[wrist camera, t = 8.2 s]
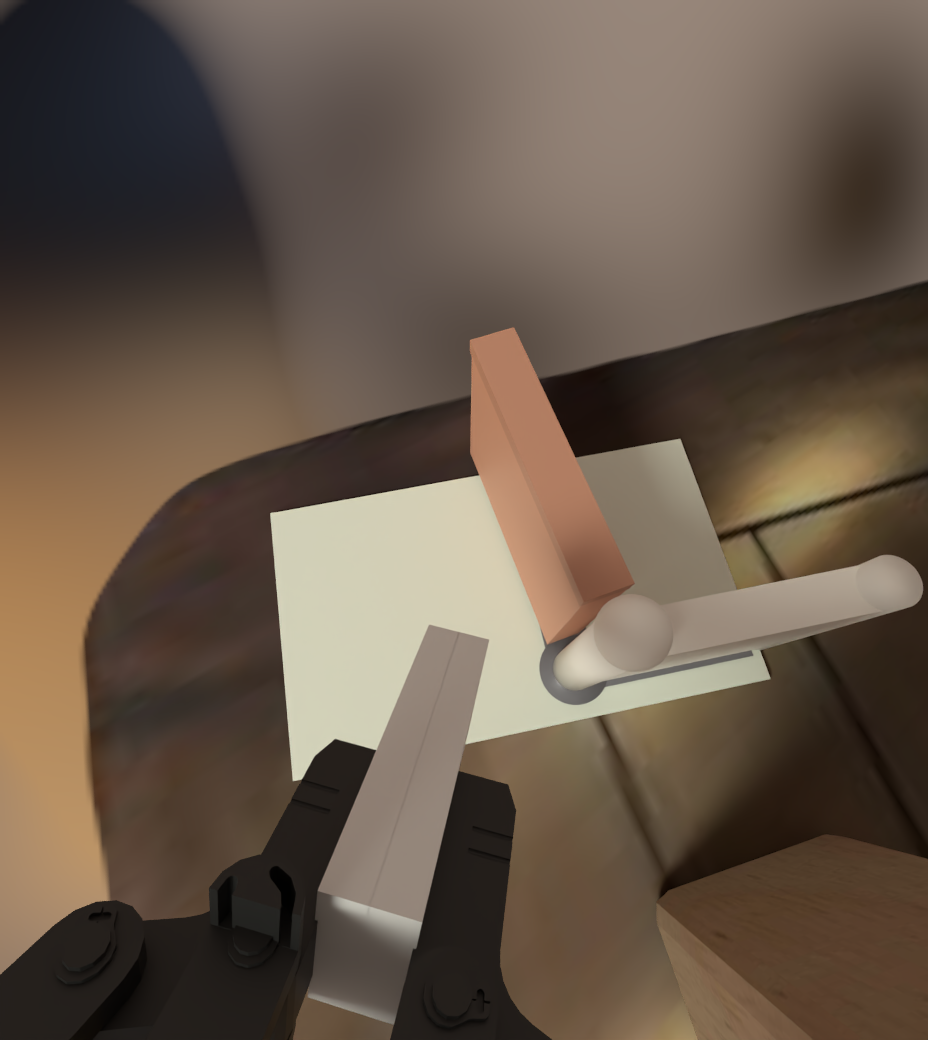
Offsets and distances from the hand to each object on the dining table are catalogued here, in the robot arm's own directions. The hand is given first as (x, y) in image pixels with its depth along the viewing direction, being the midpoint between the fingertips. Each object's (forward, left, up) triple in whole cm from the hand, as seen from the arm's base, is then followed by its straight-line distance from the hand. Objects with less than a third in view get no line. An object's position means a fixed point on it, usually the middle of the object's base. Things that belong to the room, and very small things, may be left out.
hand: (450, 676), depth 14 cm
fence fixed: (-11, -1, -16) cm, 20 cm away
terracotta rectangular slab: (-5, -8, -16) cm, 19 cm away
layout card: (-4, -5, -17) cm, 18 cm away
